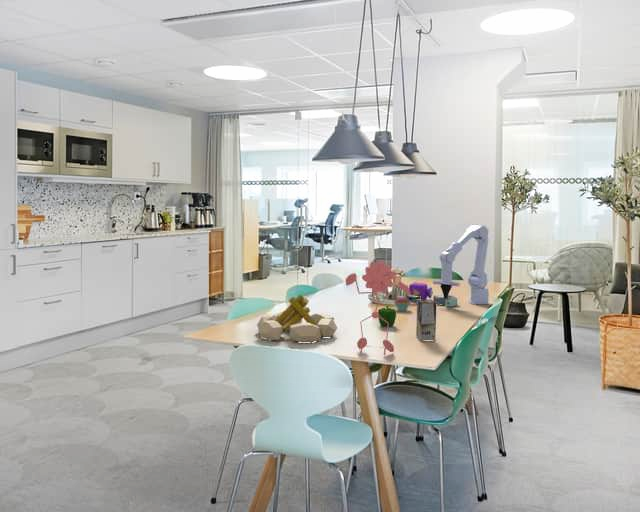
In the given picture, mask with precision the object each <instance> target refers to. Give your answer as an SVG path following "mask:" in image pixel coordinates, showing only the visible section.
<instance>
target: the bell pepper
mask: <svg viewBox="0 0 640 512" xmlns="http://www.w3.org/2000/svg"><path fill="white" fill-rule="evenodd" d="M389 306H390V305H389V303H387V304H386V308H385V307H382V308H379V309H378V310H377V312H378V314H379V316H380V317H381V318H383V319H384V320H385V321H386V322H388V323H386V322H385V321H384V320H382V319H381V318H380V317H378V318H377V319H378V323H379V325H380V326H381V325H382V326H381V327H385V326H386V327H388V324H389V326H390V327H393V326H394V325H395V323H396V318H397V310H396V309H395V308H391V307H389Z"/></svg>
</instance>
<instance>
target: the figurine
mask: <svg viewBox="0 0 640 512" xmlns="http://www.w3.org/2000/svg"><path fill="white" fill-rule="evenodd" d="M364 270H365V274H363V275H361V279H362V280H363V282H365V288H367V289H371V291H360V289H359V285H358V280H357V279H358V278H357V274H356V272H353V273H350V274H349V275H348V276H347V277H346V278H345V280H344V281H345V285H346V287H348V286H350V285H352V284H354V283H355V285H356V290H357V293H358V294H359V295H360V294H361V295H363V294H373V295H374V296H375V297H376V298H377V299H378V300H377V303H376V307H375V310H374V311H372V313H371V315H370V316H368V317H366V318H364V319H362V320H360V322H359V324H360V329H361V333H360V334H361V337H360V338H359V339H358V340H357V342H356V345H357V346H356V347H358V350H359V351H360V352H359V354H360V353H363V349H364V348H365V346H368V340H367V338H366V337H364V335H363V334H364V333H363V325H362V322H364V321H366V320H368V319H370V318H372V319H379V318H378V317H380V316H379V314H378V308H379V304H380V301H381V298H380V297H382V298H385V299H388V298H390V296H391V294H392V293H393V292H394V291H395V290H396V289H397V287H398V286H399V288H400V289H401V290H402V291H403V292H404V293H405V292H406V294H407V295H408V296H409V295H410V290H409V286H407V285H406V284H404V283H403V282H402V281H401V280H399V281H398V282H397V284H396V285H395V286H394V282H393V280H394V279H395V278H396V275H395V274H394V273H393V272H391V270H392V265H390V264H386V263H385V262H384V261H380V262H378V263H377V262H376V261H374V260H372V261H371V262H370V263H369V266H365V269H364ZM388 288H392V290H391V291H390V292H389V293H388V295H387V296H385V295H383V294H386V293H387V291H388ZM379 292H381V293H383V294H380V293H379ZM379 296H380V297H379ZM380 318H381V317H380ZM381 319H382V320H384V319H383V318H381ZM384 321H385V320H384ZM385 322H386V321H385ZM386 323H388V322H386ZM386 327H387V329H386V336H385V337H386V339H383V340H382V345H383V348H384V347H385V348H384V349H383V355H385V356H386V351H388V352H390V353H391V352H393V353H394V351H395V348H394V347H395V346H394V345H393V343H392V342H391V341H390V340H388V337H389V336H388V335H389V324H388V326H386ZM360 349H361V350H360Z"/></svg>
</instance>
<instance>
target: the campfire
mask: <svg viewBox="0 0 640 512" xmlns="http://www.w3.org/2000/svg"><path fill="white" fill-rule="evenodd" d="M288 302H289V306H287V307H286V309H285V310H283V311H280V312H278V313H276V314H271V313H270V314H269V313H268V314H267V313H266V314H263V315H262V316H261V317H260V319H259V320H258V322H257V324H256V326H257V328H258V329H257V332H258V333H259V335H260V337H261V338H262V337H263V338H266V339H268V340H276V341H279V340H280V338H281V336H282V334H283V333H285V334H286V333H287V332H288V331H290V338H291V339H292V340H293V341H295V342H296V341H298V342H314V341H316V342H318V341H320V340H321V339H322V338H321V337H331V336H332V335H333V336H334V334H335V333H336V331H337V329H338V326H337V325H336V323H335V321H334V320H335V317H334V316H332V315H331V314H329V313H327V312H318V313H313V314H311V315H310V314H309V313H310V311H311V309H310V307H308V306H307V305H308V304H309V302H310V301H309V300H308V299H307V298H305V297H303V295H301V294H299V295H298V296H297V297H296V298H295V296H293V297H292V298H291V299H289V300H288ZM303 319H304V321H305V322H302V321H303ZM333 336H332V337H333ZM332 337H331V338H332ZM268 340H267V341H268ZM317 340H318V341H317ZM298 342H297V343H298Z"/></svg>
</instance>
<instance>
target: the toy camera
mask: <svg viewBox="0 0 640 512" xmlns="http://www.w3.org/2000/svg"><path fill="white" fill-rule="evenodd" d="M408 289H409V290H410V294H411V295H415V296H421V300H428V299H427V298H429V299H431V298H432V296H433V294H434V292H433V289H432V287H429V288H428V284H427V283H421V282H417V281H413V283H410V284H409V286H408Z"/></svg>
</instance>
